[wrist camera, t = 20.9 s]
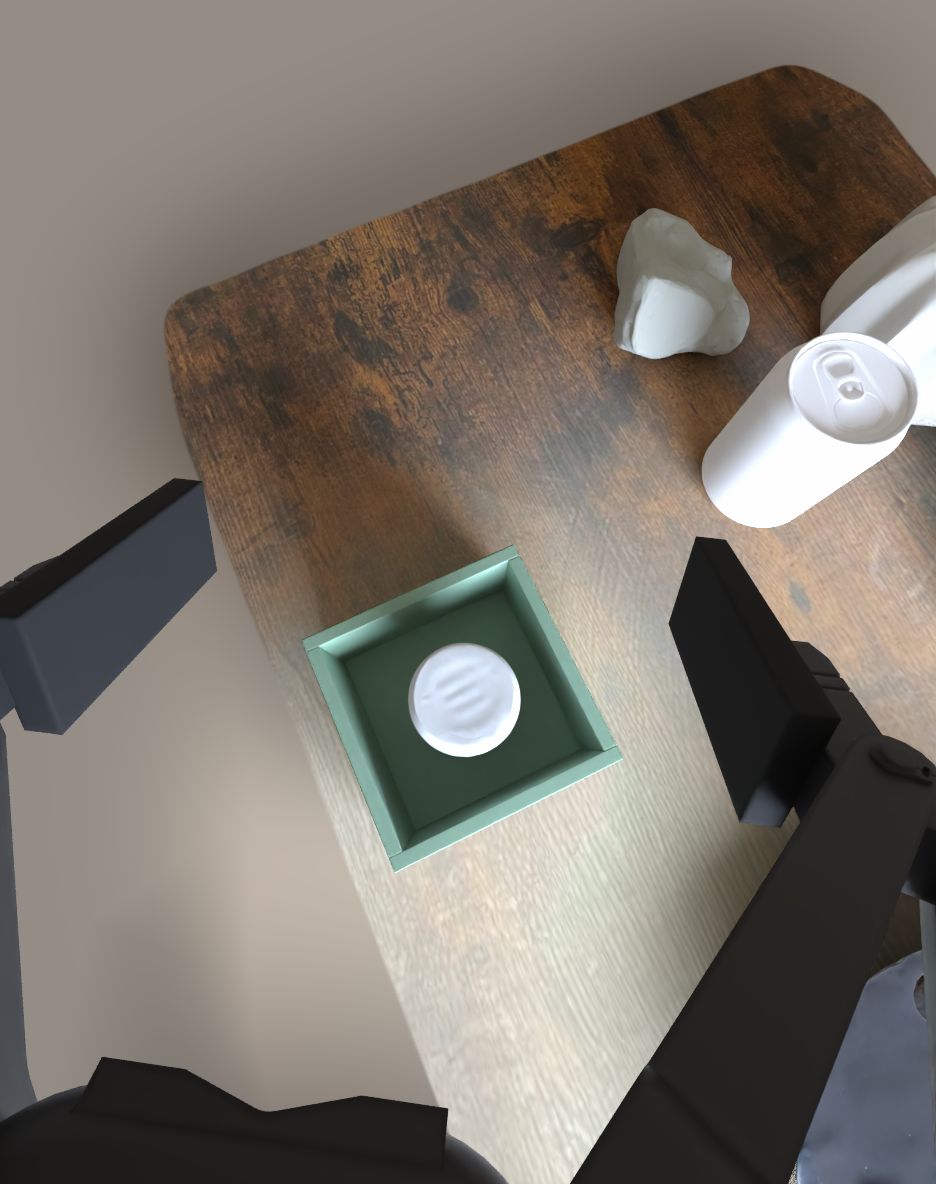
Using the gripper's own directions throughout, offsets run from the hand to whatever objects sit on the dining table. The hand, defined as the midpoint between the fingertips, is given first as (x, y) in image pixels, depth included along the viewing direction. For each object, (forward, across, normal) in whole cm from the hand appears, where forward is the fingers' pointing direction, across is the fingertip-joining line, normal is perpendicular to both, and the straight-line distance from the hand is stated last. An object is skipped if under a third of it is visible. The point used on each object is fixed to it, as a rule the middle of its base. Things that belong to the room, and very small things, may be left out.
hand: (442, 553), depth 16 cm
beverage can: (+30, +20, -7) cm, 36 cm away
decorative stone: (+39, +13, +3) cm, 41 cm away
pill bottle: (+16, +1, -20) cm, 25 cm away
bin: (+16, 0, -20) cm, 26 cm away
